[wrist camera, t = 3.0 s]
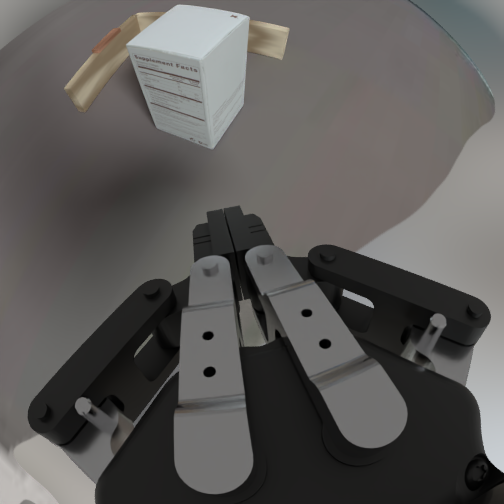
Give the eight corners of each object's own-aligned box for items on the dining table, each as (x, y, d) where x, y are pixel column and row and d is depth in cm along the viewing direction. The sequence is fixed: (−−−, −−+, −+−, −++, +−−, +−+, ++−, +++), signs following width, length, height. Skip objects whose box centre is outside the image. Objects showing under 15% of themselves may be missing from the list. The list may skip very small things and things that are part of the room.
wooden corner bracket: (79, 111, 27) (62, 85, 22) (140, 36, 30) (133, 10, 25) (246, 143, 27) (250, 109, 22) (283, 55, 31) (290, 24, 25)
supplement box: (190, 86, 29) (178, 2, 16) (245, 105, 28) (253, 15, 16) (154, 130, 27) (122, 43, 15) (212, 153, 27) (203, 58, 14)
